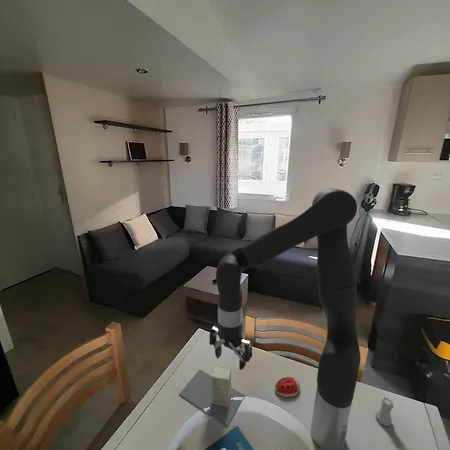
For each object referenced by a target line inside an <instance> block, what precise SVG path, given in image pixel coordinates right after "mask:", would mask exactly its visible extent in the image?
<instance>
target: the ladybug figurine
mask: <svg viewBox="0 0 450 450" xmlns="http://www.w3.org/2000/svg"><path fill="white" fill-rule="evenodd" d="M274 390H275V392H276V393H277V394H278V395H279V396H281V397H285V398H292V397H295V396H296V395H298V394H299V392H300V391H301V385H300V382H299V380H298V379H296V378H295V377H293V376H292V377H291V376H286V377H281V378H280V379H278V381H277V382H276V384H275V386H274Z"/></svg>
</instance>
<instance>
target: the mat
mask: <svg viewBox="0 0 450 450" xmlns="http://www.w3.org/2000/svg"><path fill="white" fill-rule="evenodd" d="M178 395H179V396H181V397H182V398H184V399H185V400H187V401H188V402H189V403H190V404H193V405H194V406H195V407H197V408H199V409H200V410H201V409H204V408H208V407H210V409H208V410H207V413H208V414H207V413H206V414H207V415H209V416H210V417H212V418H213V419H215V420H216V421H218V422H219V423H220V424H222V425H224V426H225V427H227V428H228V426H230V423H231V421H232V419H233V418H234V417H235V414H236V413H237V410H238V408H239V407H240V405H241V404H242V402H241V401H243V400H233V399H232V400H230V404H229V407H224V406H220V405H216V404H212V390H211V375H210V374H209V373H207V372H205V371H203V370H201V369H198V371H196V373H195V374H194V376H192V378H191V379H190V381H189V382H188V383H187V384H186V385H185V387H183V389H182V390H181V391H180V392H179V394H178ZM234 397H244V398H245V397H246V396H245V394H244V393H241V391H239V390H237V389H234V388H233V387H231V398H234Z"/></svg>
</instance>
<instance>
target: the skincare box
mask: <svg viewBox="0 0 450 450" xmlns="http://www.w3.org/2000/svg"><path fill="white" fill-rule="evenodd" d="M231 388H232V368H228V367H223V366H217V365H214V366H213V368H212V372H211V390H212V404H216V405H220V406H224V407H229V404H230V400H231Z"/></svg>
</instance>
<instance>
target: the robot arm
mask: <svg viewBox="0 0 450 450" xmlns="http://www.w3.org/2000/svg"><path fill="white" fill-rule="evenodd" d="M357 212H358V203H357V201H356V199H355V197H354V195H352V194H351V193H349V192H348V191H346V190H343V189H339V188H333V187H331V188H326V189H322V190H321V191H318V193H317V194H316V195H315V196H314V198H313V200H312V203H311V206H310V207H308V208H307V209H306V210H305V211H304V212H301V214H300V215H298V216H296V217H294V218H293V219H291V220H289V221H288V222H286V223H284V224H281V225H279V226H277V227H275V228H273V229H270V230H268V231H266V232H264V233H262V234H261V235H259V236H257V237H256V238H253V239H252V240H251V241H250V242H248V243H246V244H245V245H243V246H241V247H237V248H235V249H232V250H231V251H229V252H228V253H227V254H225V255H224V256H223V257H222V258H221V260H220V262H219V263H218V265H217V267H216V271H215V280H216V286H217V291H218V307H217V325H216V324H215V325H214V326H212V327H211V329H209V339H208V340H209V342H208V343H209V345H211V346H213V348H214V355H215V358H216V359H220V357H221V356H222V353H223V352H222V345H223V346H224V347H225V348H228V349H230V350H231V351H233V352H234V355H236V356H237V357H238V358H239V359H238V361H239V365H238V366H239V370H240V371H243V369H245V367H246V366H247V363H249V362H250V361H251V358H252V357H253V341H252V340H251V339H248V340H245V339H243V316H244V315H243V312H244V311H243V291H242V289H241V284H242V283H241V281H242V274H243V272H244V271H245V270H247V269H249V268H251V267H253V268H258V267H261V266H263V265H264V264H266V263H268V262H269V261H272V260H274V259H275V258H278V257H279V256H281V255H282V254H284V253H286V252H287V251H289V250H291V249H293V248H294V247H296V246H298V245H300V244H302V243H304V242H307V241H309V240H312V239H313V238H315V237H316V239H317V255H316V259H317V260H316V261H317V262H316V263H317V264H316V265H317V267H316V270H317V271H316V272H317V275H316V276H317V290H318V298H319V302H320V304H321V307H322V309H323V312H324V314H325V318H326V324H327V325H326V328H327V332H326V340H325V344H324V347H323V349H322V351H321V354H320V357H319V359H318V366H317V374H316V375H317V376H316V389H315V390H316V391H315V396H314V397H315V399H314V404H313V410H312V417H311V423H310V434H311V438H312V440H313V441H315V442H316V443H315V442H314V443H315V445H316V446H317V445H318V446H319V447H320V450H344V448H345V442H346V437H347V434H348V427H349V426H348V424H349V418H350V413H351V410H352V405H353V404H352V402H353V400H354V395H355V390H356V385H357V381H358V376H359V372H360V371H359V370H360V365H361V356H362V355H361V350H360V345H359V340H358V339H359V338H358V333H357V325H356V321H357V312H358V311H357V306H358V301H357V300H358V290H357V275H356V271H355V266H354V262H353V261H354V260H353V258H352V257H353V256H352V255H351V251H350V247H349V242H348V224H350V223H351V222H352V221H353V219H355V216H356V215H357ZM217 338H219V340H217ZM318 446H317V447H318ZM319 447H318V448H319Z"/></svg>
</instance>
